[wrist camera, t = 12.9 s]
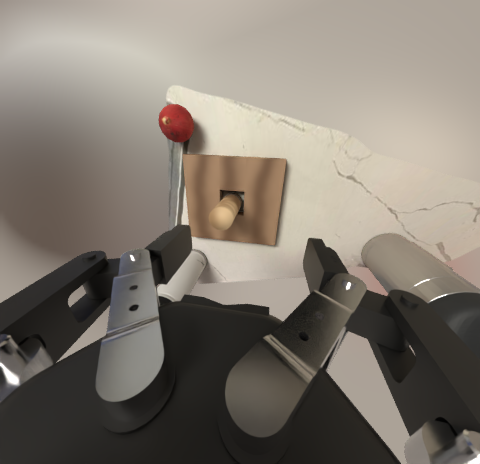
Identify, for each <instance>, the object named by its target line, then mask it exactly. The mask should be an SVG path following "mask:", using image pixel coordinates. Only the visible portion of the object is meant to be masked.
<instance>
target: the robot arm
mask: <svg viewBox="0 0 480 464" xmlns="http://www.w3.org/2000/svg"><path fill="white" fill-rule="evenodd" d="M191 251H192V238H191V228H190V226H189V225H180V224H178V225H177V226H176V227H174V228H173V229H172V230H170V231H167V232H165V233H163V234H162V235H161V236H159V238H157V239H156V240H155V241H153V242H152V243H151V244H149V245H148V246H147V247H146V248H145V249H133V250H130V251H127V252H125V253H124V254H122V256H121V257H120V258H117V259H107V256H106V253H105V252H103V251H91V252H87V253H84V254H81V255H79V256H77V257H76V258H74V259H72V260H71V261H69V262H68V263H66V264H64V265H63V266H61V267H59V268H58V269H56V270H54V271H53V272H51V273H49V274H48V275H46V276H44V277H43V278H41V279H40V280H38V281H36V282H35V283H33V284H31V285H30V286H28V287H26V288H25V289H23V290H21V291H20V292H18V293H16V294H15V295H13V296H12V297H10V298H8V299H7V300H5V301H3V302H2V303H0V464H401V463H400V462H399V460H398V459H397V457H396V456H395V455H394V454H393V452H392V451H391V450H390V448H389V447H388V446H387V445H386V444H385V442H384V441H383V440H382V439H381V437H380V436H379V435H378V434H377V433H376V431H375V430H374V429H373V428H372V426H371V425H370V424H369V423H368V422H367V420H366V419H365V418H364V417H363V416H362V415H361V413H360V412H359V411H358V409H357V408H356V407H355V406H354V405H353V403H352V402H351V401H350V400H349V398H348V397H347V396H346V395H345V394H344V392H343V391H342V390H341V389H340V387H339V386H338V385H337V384H336V383H335V381H333V379H332V378H331V377H330V375H329V374H328V373H327V371H328V369H329V367H330V365H331V362H332V361H333V359H334V357H335V355H336V353H337V351H338V349H339V348H340V346H341V344H342V342H343V340H344V338H345V336H346V335H347V333H348V331H350V332H352V333H355V334H357V335H359V336H362V337H364V338H367V339H368V341H369V343H370V346H371V348H372V350H373V352H374V355H375V357H376V359H377V362H378V364H379V366H380V369H381V371H382V373H383V375H384V378H385V380H386V383H387V385H388V387H389V389H390V392H391V394H392V396H393V399H394V401H395V403H396V406H397V408H398V410H399V412H400V415H401V417H402V419H403V422H404V424H405V426H406V428H407V431H408V433H409V435H410V438H409V439H408V440H407V441H406V443H405V457H406V460H407V464H480V289H479V288H477V287H476V286H474V285H473V284H471V283H470V282H468V281H467V280H465V279H464V278H462V277H461V276H459V275H458V274H456V273H455V272H454V271H453V269H452V268H451V267H449V266H448V265H446V264H445V263H443V262H442V261H440V260H439V259H437V258H436V257H435V256H433V255H432V254H430V253H429V252H427V251H426V250H424V249H423V248H421V247H420V246H418V245H417V244H415V243H414V242H410V241H409V240H407V239H406V238H404V237H403V236H401V235H398V234H392V233H390V234H382V235H379V236H377V237H375V238H373V239H371V240H370V241H369V242H368V243H367V244H366V245H365V246H364V248H363V250H362V254H361V255H362V260H363V262H364V263H365V265H366V266H367V267H368V268H369V270H370V271H371V272H372V273H373V275H374V276H375V277H376V279H377V280H378V281H379V282H380V284H381V285H382V286H383V287H384V289H385V290H386V291H387V292H388V296H384V295H381V294H378V293H374V292H372V291H369V290H367V287H366V284H365V283H364V282H363V281H362V280H360V279H359V278H357V277H355V276H353V275H350V274H349V273H348V271H347V269H346V268H345V266H344V265H343V263H342V261H341V260H340V258H339V256H338V255H337V253H336V252H335V251H334V250H333V249H331V248H330V247H326V246H325V244H324V242H323V240H322V239H316V238H309V239H308V242H307V246H306V250H305V255H304V260H303V268H304V272H305V276H306V279H307V283H308V287H309V290H310V295H309V296H308V297H307V298H306V299H305V300H304V301H303V302H302V303H301V304H300V305H299V306H298V307H297V308H296V309H295V310H294V311H293V312H292V313H291V314H290V315H289V316H288V317H287V318H286V319H285V320H284V321H281V320H279V319H278V318H276V317H274V316H272V315H269V307H265V306H258V305H251V304H237V305H222V304H220V303H217V302H215V301H212V300H210V299H207V298H204V297H198V296H192V295H185V294H184V296H183V298H182V299H181V301H175V302H170V303H167V304H164V305H161V306H160V303H159V298H158V292H157V287H156V286H157V285H158V284H164V285H167V284H168V282H169V281H170V280H171V278H172V277H173V276H174V274H175V273H176V272H177V271H178V269H179V268H180V267H181V265H182V264H183V263H184V261H185V260H186V259H187V257H188V256H189V255H190V253H191ZM81 285H83V287H84V289H85V291H86V294H85V295H84V296H83V297H82V298H80V299H79V300H78V301H77V302H76V303H75V304H73V305H72V306H71V307H69V305H68V298H69V296H70V295H71V294H72V293H73V292H74V291H75V290H76V289H78V288H79V287H80V286H81ZM108 306H110V311H109V319H108V326H107V333H106V336H104V337H102V338H101V339H99V340H97V341H95V342H94V343H91V344H90V345H88V346H86V347H84V348H82V349H81V350H79V351H77V352H75V353H74V354H72V355H70V356H68V357H67V358H64V359H63V360H61V361H59V362H57V361H58V360H59V359H60V358H61V357H62V355H63V354H64V353H65V352H66V351H67V350H68V349H69V348H70V347H71V346H72V345H73V344H74V343H75V342H76V341H77V340H78V338H79V337H80V336H81V335H82V334H83V333H84V332H85V331H86V330H87V329H88V328H89V327H90V326H91V325H92V324H93V323H94V321H95V320H96V319H97V318H98V317H99V316H100V315H101V314H102V313H103V312H104V311H105V310H106V309H107V307H108ZM409 345H411V347H412V349H413V350H414V353H415V355H414V353H413V352H412V350H411V349H410V347H409ZM415 356H416V357H415ZM56 362H57V363H56Z"/></svg>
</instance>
